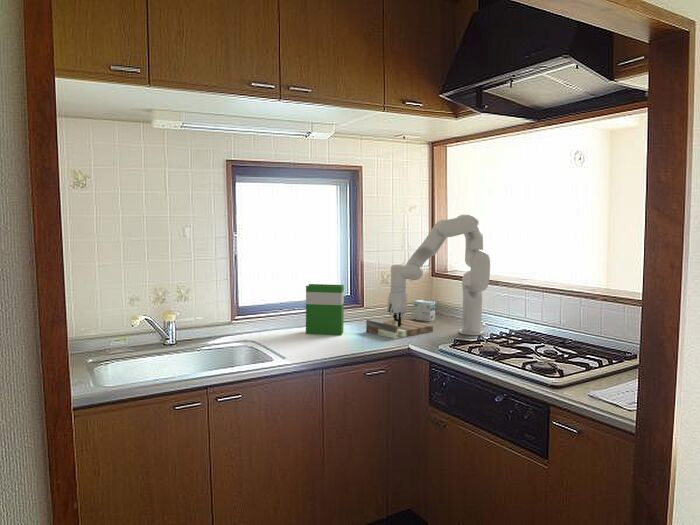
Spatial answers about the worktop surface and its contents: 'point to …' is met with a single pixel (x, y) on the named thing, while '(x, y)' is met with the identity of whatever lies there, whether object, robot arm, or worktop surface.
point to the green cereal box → (324, 309)
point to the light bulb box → (424, 310)
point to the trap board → (402, 331)
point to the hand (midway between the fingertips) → (397, 326)
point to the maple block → (391, 322)
